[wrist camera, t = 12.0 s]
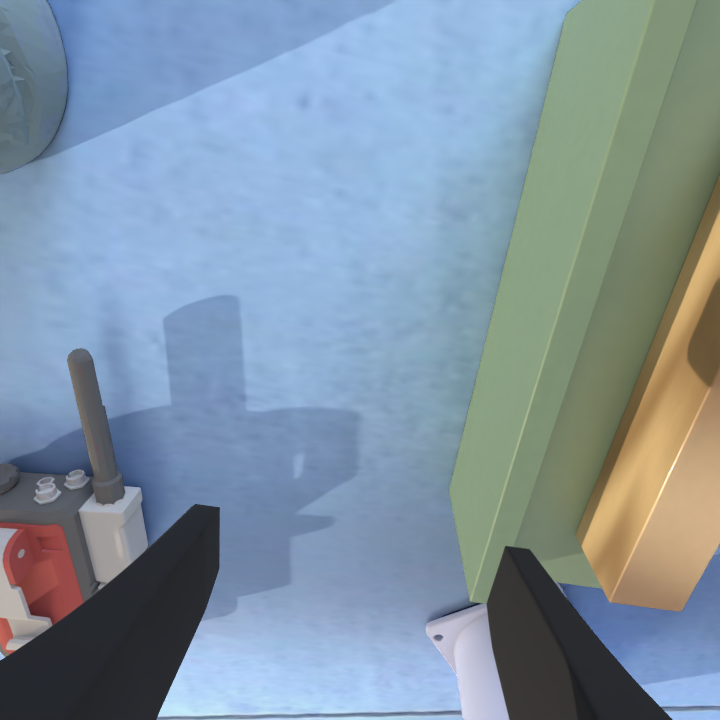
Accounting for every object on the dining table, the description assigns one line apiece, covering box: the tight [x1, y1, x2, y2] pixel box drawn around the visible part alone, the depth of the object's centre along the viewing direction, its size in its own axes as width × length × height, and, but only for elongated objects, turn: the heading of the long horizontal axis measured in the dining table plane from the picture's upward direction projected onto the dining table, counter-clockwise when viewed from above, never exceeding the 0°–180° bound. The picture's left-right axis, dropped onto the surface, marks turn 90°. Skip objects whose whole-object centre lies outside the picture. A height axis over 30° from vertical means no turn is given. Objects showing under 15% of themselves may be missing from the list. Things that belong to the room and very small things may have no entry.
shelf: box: [449, 0, 720, 604], centre depth 17 cm, size 20×9×6 cm, turn 173°
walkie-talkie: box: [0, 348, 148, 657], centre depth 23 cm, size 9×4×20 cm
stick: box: [576, 174, 720, 612], centre depth 14 cm, size 15×2×3 cm, turn 173°
